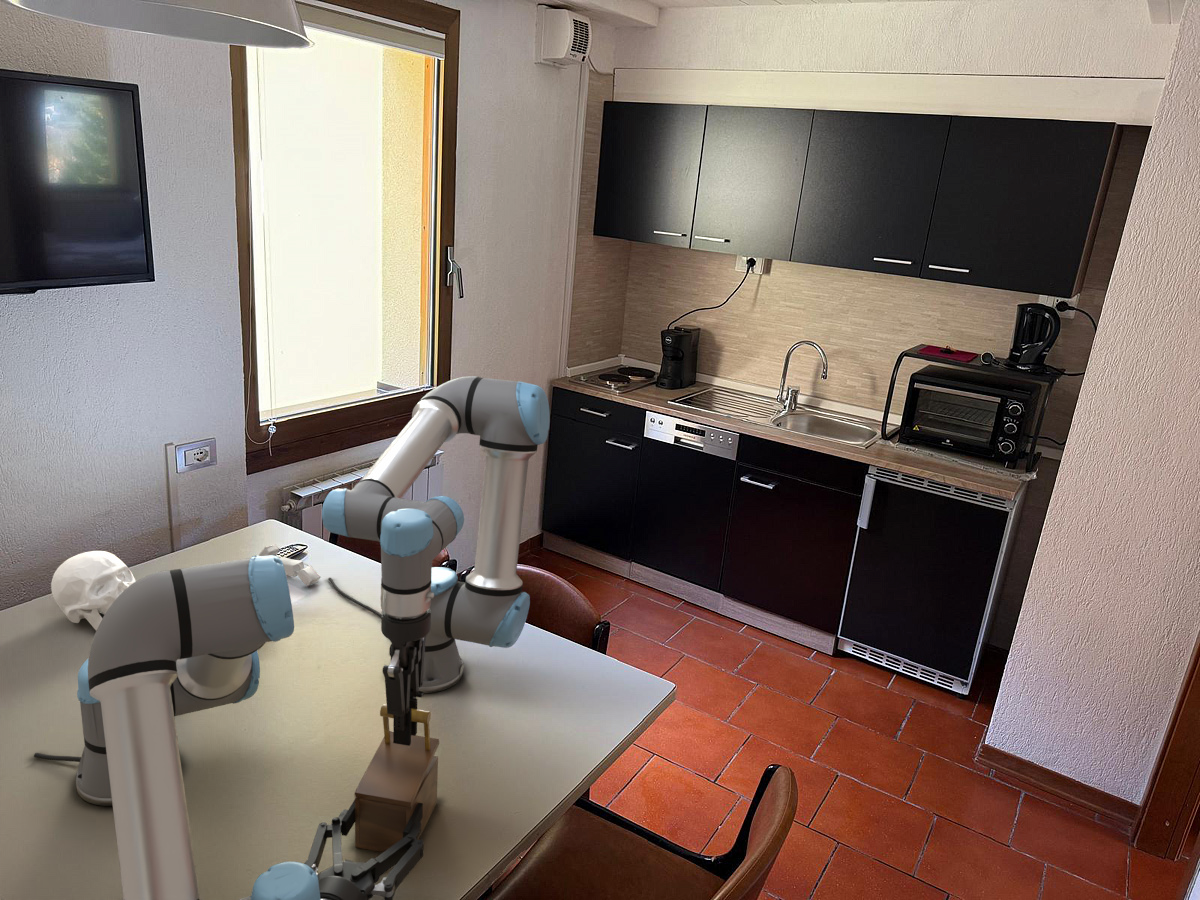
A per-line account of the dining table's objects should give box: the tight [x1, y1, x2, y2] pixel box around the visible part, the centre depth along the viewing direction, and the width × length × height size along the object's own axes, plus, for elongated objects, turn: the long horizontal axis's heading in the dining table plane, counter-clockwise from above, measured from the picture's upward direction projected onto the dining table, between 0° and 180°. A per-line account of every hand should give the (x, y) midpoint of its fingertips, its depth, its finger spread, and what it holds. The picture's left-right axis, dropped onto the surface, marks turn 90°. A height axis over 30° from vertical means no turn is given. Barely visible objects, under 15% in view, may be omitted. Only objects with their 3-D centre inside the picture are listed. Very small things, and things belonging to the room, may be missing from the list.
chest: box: [354, 755, 439, 853], centre depth 139 cm, size 13×9×9 cm
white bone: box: [257, 544, 322, 587], centre depth 219 cm, size 20×4×7 cm, turn 62°
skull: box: [50, 550, 137, 632], centre depth 191 cm, size 13×22×16 cm, turn 73°
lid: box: [354, 703, 440, 807], centre depth 135 cm, size 13×9×9 cm
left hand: (390, 804), depth 135 cm, fingers closed on chest, 9 cm apart
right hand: (405, 737), depth 139 cm, fingers closed on lid, 2 cm apart
